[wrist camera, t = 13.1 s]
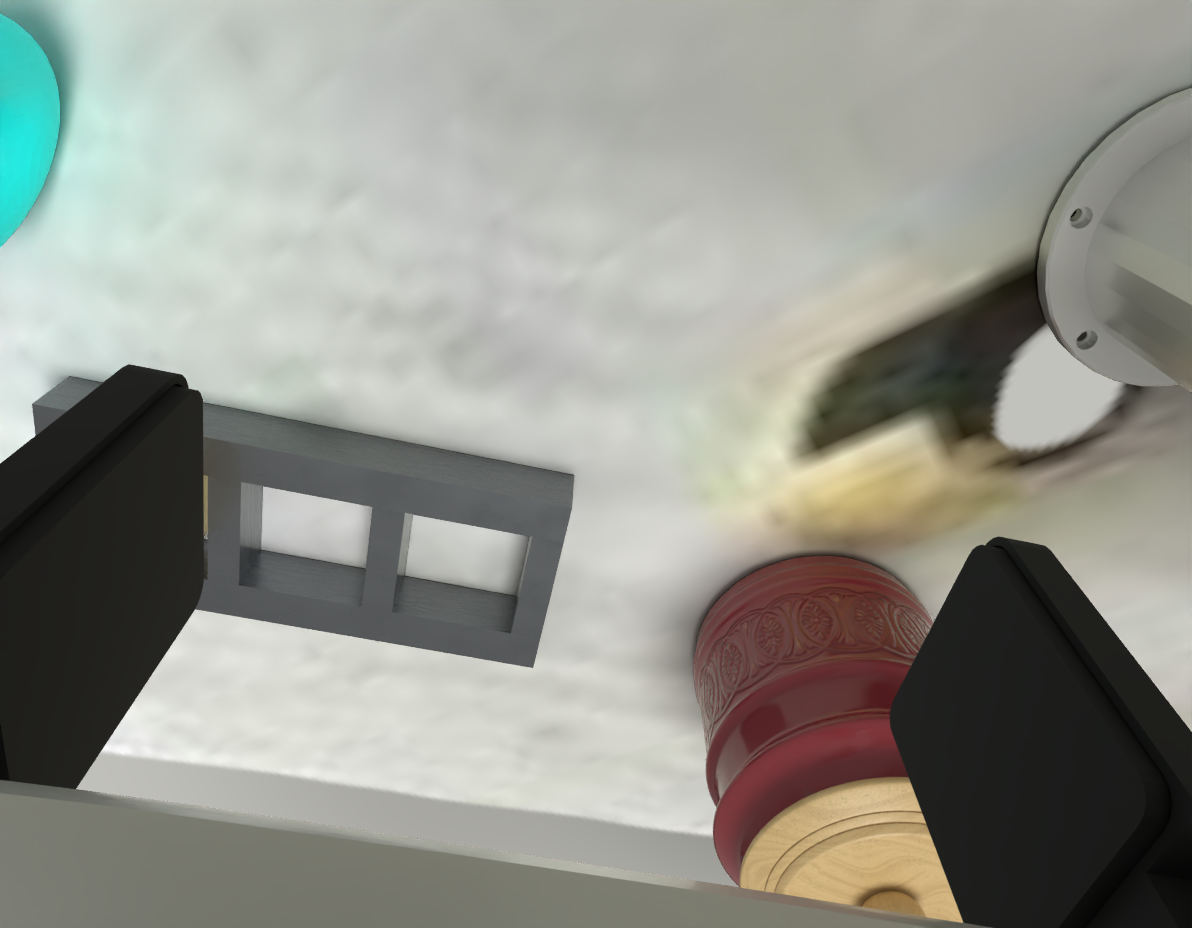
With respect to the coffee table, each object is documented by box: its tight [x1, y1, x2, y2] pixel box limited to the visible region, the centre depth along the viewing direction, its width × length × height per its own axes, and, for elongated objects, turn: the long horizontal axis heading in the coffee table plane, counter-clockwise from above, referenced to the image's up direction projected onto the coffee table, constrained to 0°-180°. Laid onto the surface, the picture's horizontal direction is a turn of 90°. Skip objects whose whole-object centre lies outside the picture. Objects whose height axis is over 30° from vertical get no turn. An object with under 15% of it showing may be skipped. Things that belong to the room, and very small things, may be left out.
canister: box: [693, 556, 963, 923], centre depth 40 cm, size 13×13×18 cm
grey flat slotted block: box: [32, 377, 574, 668], centre depth 42 cm, size 24×10×3 cm, turn 78°
